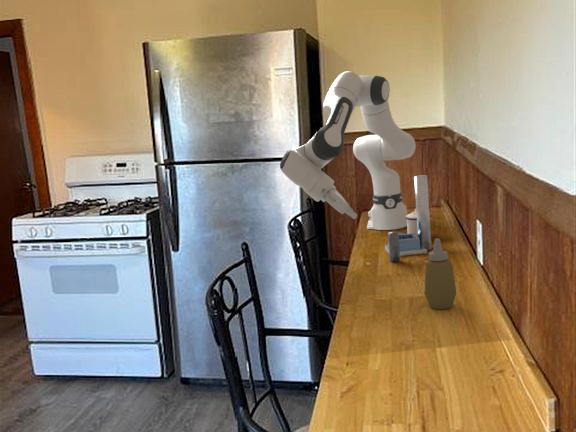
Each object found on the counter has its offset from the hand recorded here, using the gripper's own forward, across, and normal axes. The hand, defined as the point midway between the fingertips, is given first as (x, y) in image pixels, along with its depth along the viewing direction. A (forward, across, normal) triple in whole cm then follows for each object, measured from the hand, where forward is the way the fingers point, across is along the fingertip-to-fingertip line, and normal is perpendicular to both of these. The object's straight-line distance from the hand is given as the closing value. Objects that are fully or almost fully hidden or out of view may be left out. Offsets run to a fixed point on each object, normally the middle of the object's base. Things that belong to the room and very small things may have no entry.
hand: (353, 214), depth 197 cm
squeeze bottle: (+24, -46, +2) cm, 51 cm away
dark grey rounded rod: (+21, 0, +3) cm, 21 cm away
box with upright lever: (+26, +15, -2) cm, 30 cm away
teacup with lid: (+32, +29, -8) cm, 44 cm away
